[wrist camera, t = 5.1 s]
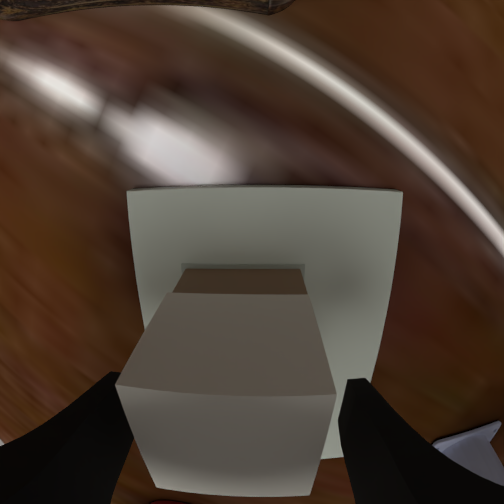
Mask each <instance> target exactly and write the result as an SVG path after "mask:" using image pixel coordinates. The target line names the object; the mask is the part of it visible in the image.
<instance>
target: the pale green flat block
mask: <svg viewBox="0 0 504 504" xmlns="http://www.w3.org/2000/svg"><path fill="white" fill-rule="evenodd" d="M402 199H403V192H401V191H399V190H396V189H381V188H363V187H340V186H309V185H209V186H177V187H155V188H137V189H131V190H129V191H127V204H128V215H129V225H130V234H131V243H132V251H133V259H134V267H135V274H136V281H137V287H138V294H139V300H140V306H141V311H142V317H143V322H144V328H145V329H146V328H147V326H148V324H149V323H150V321H151V319H152V317H153V316H154V314H155V312H156V310H157V309H158V307H159V305H160V304H161V302H162V300H163V299H164V297H165V295H166V293H167V292H171V293H204V294H273V295H301V294H309V297H310V300H311V304H312V307H313V310H314V314H315V317H316V321H317V324H318V327H319V331H320V334H321V338H322V341H323V345H324V349H325V352H326V356H327V359H328V363H329V367H330V370H331V374H332V378H333V381H334V385H335V389H336V393H337V396H336V401H335V405H334V409H333V413H332V417H331V421H330V425H329V429H328V433H327V437H326V441H325V445H324V448H323V452H322V455H321V459H326V458H336V457H344V456H343V452H342V448H341V442H340V435H339V427H338V417H339V413H340V409H341V405H342V401H343V396H344V392H345V388H346V383H347V379H356V378H366V379H367V380H368V381H369V382H371V378H372V374H373V370H374V367H375V363H376V359H377V355H378V350H379V346H380V342H381V337H382V333H383V328H384V324H385V319H386V314H387V309H388V303H389V298H390V292H391V287H392V281H393V275H394V268H395V261H396V254H397V247H398V239H399V230H400V221H401V211H402Z"/></svg>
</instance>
